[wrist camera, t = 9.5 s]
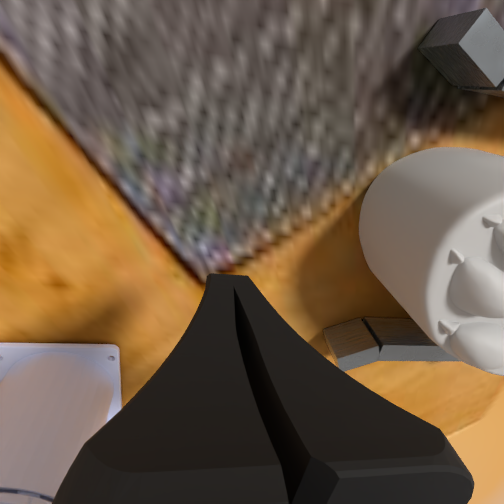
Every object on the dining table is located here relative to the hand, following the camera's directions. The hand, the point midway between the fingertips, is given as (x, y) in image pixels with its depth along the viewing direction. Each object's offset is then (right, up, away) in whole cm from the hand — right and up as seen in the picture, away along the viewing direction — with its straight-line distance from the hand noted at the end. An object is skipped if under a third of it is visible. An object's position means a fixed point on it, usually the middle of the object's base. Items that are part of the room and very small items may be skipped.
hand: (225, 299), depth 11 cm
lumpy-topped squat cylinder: (+14, +3, +12) cm, 18 cm away
